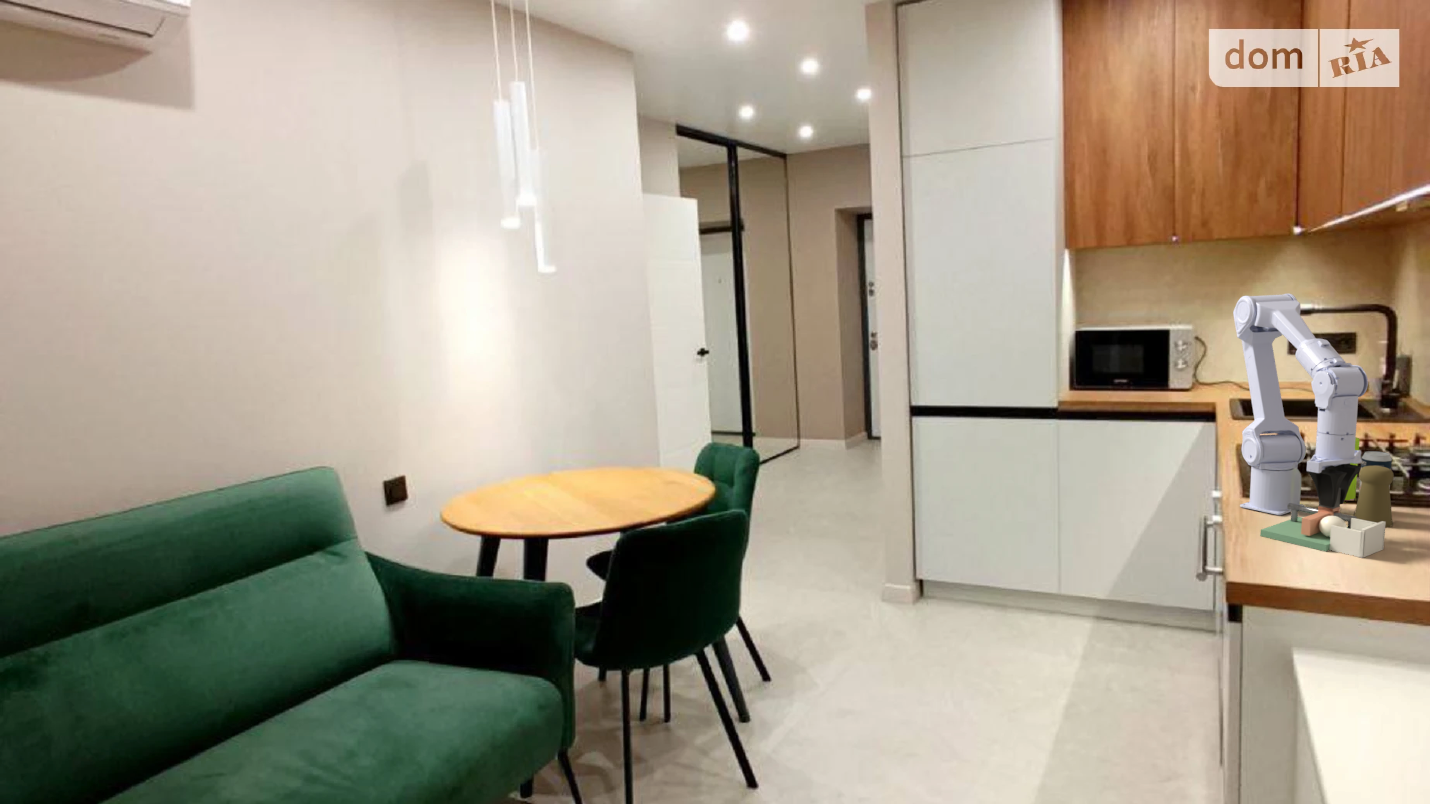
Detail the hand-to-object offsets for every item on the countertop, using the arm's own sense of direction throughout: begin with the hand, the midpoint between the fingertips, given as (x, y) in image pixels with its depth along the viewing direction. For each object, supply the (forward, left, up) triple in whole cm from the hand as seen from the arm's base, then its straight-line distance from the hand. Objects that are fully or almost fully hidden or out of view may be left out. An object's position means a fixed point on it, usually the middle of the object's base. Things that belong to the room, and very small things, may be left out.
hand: (1331, 504), depth 153 cm
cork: (-14, +1, -6) cm, 15 cm away
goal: (+4, +6, -6) cm, 10 cm away
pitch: (+3, -2, -6) cm, 7 cm away
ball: (+4, +2, -3) cm, 6 cm away
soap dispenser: (-26, -11, -6) cm, 29 cm away
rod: (0, -2, -5) cm, 5 cm away
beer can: (-21, -2, -6) cm, 22 cm away
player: (+3, 0, -4) cm, 5 cm away
